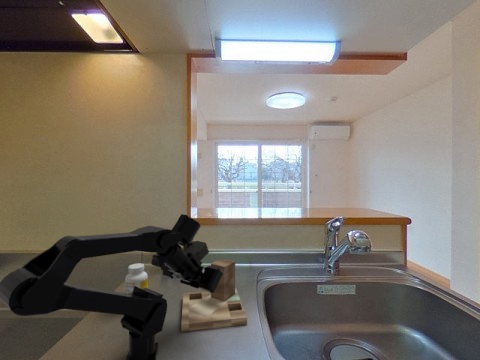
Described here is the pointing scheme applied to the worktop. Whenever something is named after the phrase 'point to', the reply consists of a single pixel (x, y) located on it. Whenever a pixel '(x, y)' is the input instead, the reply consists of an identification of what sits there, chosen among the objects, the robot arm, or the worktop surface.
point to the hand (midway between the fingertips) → (205, 286)
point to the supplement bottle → (136, 278)
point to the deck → (211, 311)
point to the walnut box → (225, 280)
